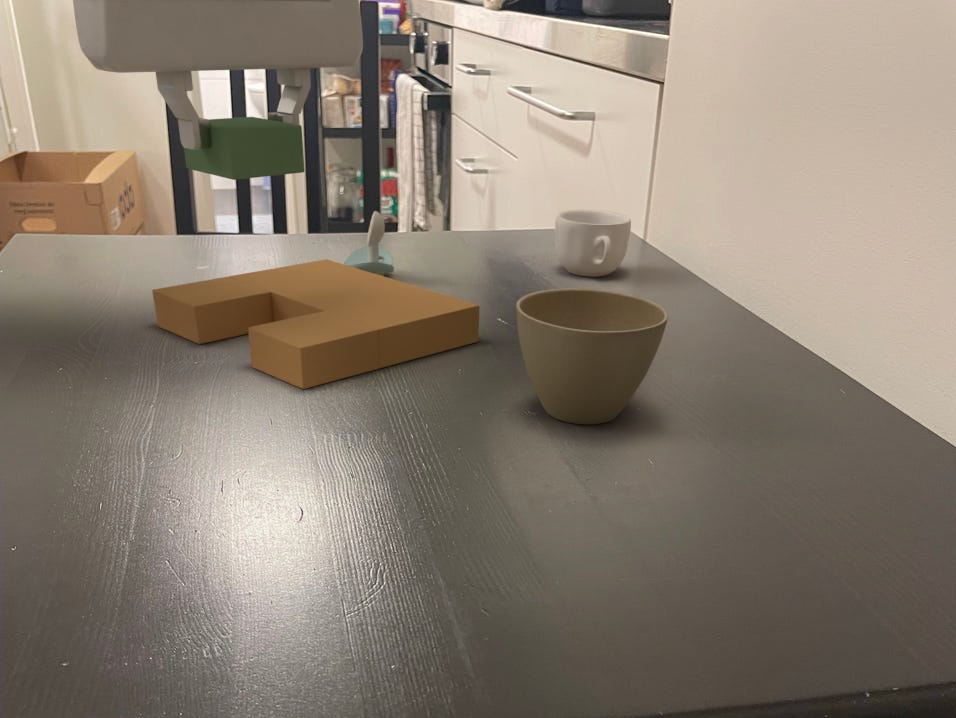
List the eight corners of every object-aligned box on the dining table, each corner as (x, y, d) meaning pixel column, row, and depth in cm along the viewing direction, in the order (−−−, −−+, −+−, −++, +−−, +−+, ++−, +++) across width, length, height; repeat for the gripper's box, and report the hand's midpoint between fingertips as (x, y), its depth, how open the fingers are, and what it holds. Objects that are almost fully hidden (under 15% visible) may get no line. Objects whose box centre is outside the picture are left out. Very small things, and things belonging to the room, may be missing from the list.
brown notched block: (157, 326, 81) (151, 289, 79) (328, 292, 92) (326, 259, 90) (303, 389, 69) (300, 347, 68) (478, 341, 80) (480, 304, 78)
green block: (185, 168, 69) (179, 121, 67) (256, 161, 73) (252, 116, 71) (233, 180, 65) (228, 130, 64) (305, 172, 69) (302, 125, 67)
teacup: (544, 263, 104) (548, 209, 101) (612, 262, 106) (618, 209, 103) (567, 286, 96) (572, 229, 93) (641, 286, 98) (648, 229, 95)
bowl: (489, 423, 65) (494, 315, 61) (537, 379, 73) (543, 281, 69) (633, 449, 62) (648, 338, 58) (667, 401, 70) (682, 299, 66)
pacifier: (333, 289, 93) (395, 287, 94) (327, 219, 90) (392, 218, 90) (334, 270, 99) (392, 269, 100) (329, 204, 96) (389, 203, 96)
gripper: (320, -89, 68) (331, 130, 76) (39, -116, 56) (85, 149, 64) (378, -91, 65) (383, 140, 73) (91, -120, 52) (134, 161, 60)
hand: (242, 144), depth 68 cm, fingers closed on green block, 6 cm apart
